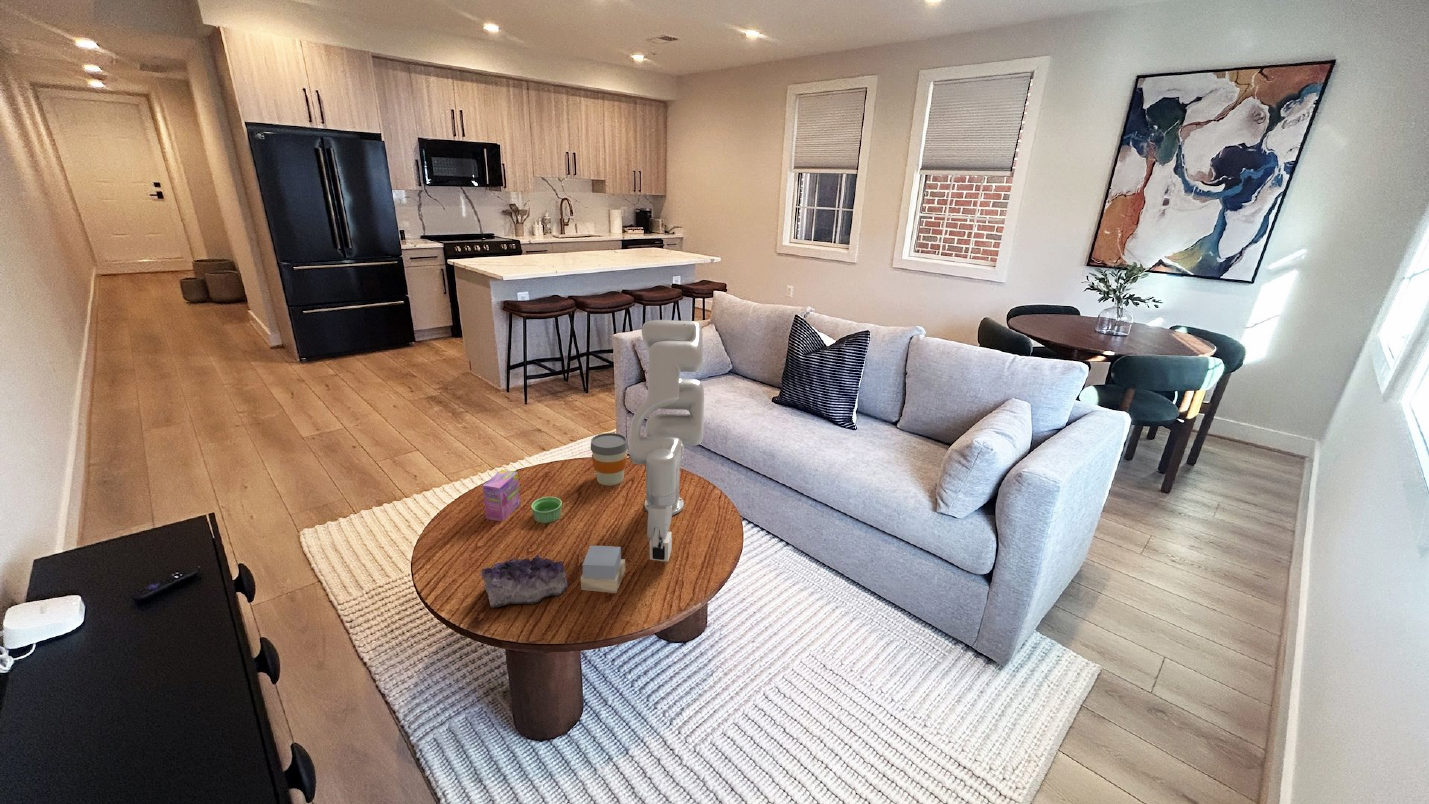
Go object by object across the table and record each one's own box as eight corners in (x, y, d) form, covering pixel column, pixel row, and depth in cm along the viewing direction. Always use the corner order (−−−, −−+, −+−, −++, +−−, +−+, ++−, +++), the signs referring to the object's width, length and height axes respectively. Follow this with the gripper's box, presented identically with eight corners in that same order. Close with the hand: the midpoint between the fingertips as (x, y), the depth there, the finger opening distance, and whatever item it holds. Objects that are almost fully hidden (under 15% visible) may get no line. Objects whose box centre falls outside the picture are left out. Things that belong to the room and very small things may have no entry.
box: (503, 522, 166) (499, 487, 162) (486, 519, 167) (481, 485, 163) (521, 504, 175) (518, 471, 171) (504, 502, 176) (501, 469, 172)
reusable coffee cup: (586, 485, 188) (584, 445, 182) (599, 468, 199) (598, 430, 194) (621, 490, 186) (620, 449, 181) (633, 472, 198) (632, 434, 192)
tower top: (590, 558, 146) (590, 545, 144) (621, 559, 145) (620, 546, 144) (583, 577, 138) (582, 564, 137) (615, 579, 138) (614, 566, 137)
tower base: (592, 568, 148) (591, 556, 146) (625, 571, 147) (625, 559, 146) (581, 591, 139) (580, 578, 138) (616, 594, 139) (615, 581, 137)
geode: (566, 570, 146) (566, 541, 142) (568, 604, 137) (568, 575, 132) (484, 579, 141) (481, 549, 136) (480, 615, 131) (476, 585, 126)
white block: (653, 547, 153) (653, 529, 150) (671, 549, 152) (671, 531, 150) (649, 559, 148) (649, 541, 146) (668, 561, 148) (668, 543, 145)
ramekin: (561, 506, 175) (560, 494, 173) (563, 522, 167) (562, 509, 165) (532, 510, 172) (530, 498, 171) (532, 526, 164) (531, 513, 163)
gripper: (654, 476, 151) (654, 531, 158) (638, 512, 135) (639, 571, 143) (681, 479, 150) (680, 534, 157) (668, 515, 135) (668, 574, 142)
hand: (660, 551), depth 150 cm, fingers closed on white block, 5 cm apart
